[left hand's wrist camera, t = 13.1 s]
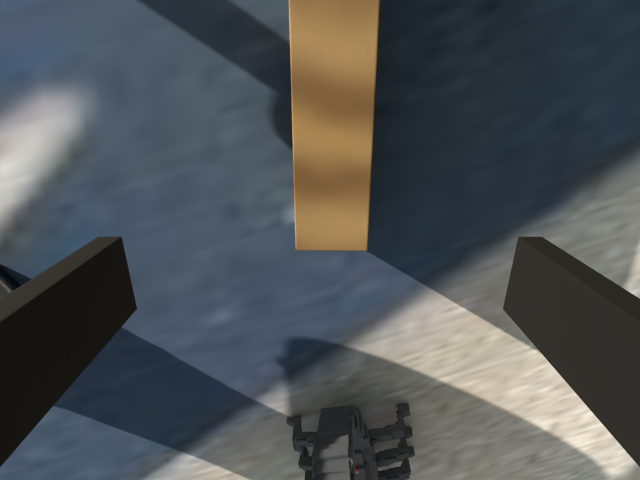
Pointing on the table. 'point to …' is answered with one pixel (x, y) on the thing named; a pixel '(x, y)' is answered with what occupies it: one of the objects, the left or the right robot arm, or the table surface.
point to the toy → (351, 446)
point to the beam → (333, 120)
